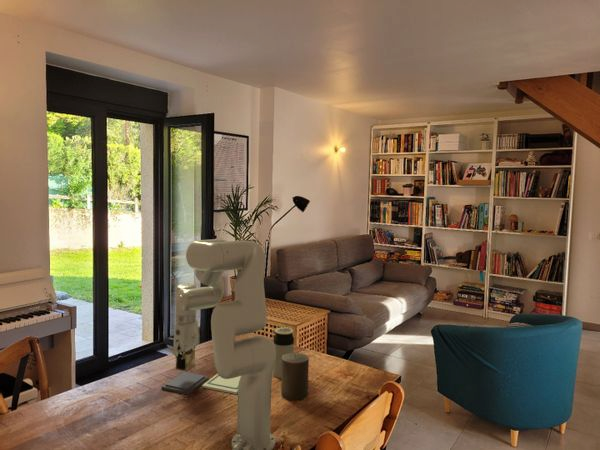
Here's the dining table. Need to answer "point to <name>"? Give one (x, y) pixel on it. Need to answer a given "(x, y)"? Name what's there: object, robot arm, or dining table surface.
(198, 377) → the grey flat block
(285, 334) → the travel mug
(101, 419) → the dining table surface
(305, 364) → the pillar candle
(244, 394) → the robot arm
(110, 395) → the dining table surface
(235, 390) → the board
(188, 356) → the stamp
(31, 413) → the dining table surface
